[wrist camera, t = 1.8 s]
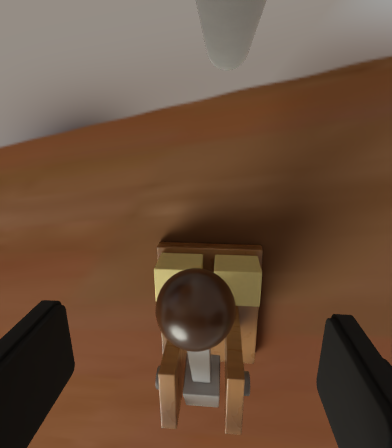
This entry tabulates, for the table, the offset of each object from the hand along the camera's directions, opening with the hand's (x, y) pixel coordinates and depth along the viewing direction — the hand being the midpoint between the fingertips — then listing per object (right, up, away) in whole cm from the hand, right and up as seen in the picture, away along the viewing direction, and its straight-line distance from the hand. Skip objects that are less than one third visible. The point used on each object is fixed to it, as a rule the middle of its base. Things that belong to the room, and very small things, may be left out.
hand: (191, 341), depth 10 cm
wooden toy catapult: (+1, -3, +17) cm, 17 cm away
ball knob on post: (0, -1, +6) cm, 6 cm away
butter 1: (-1, 0, +15) cm, 15 cm away
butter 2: (+4, 0, +14) cm, 15 cm away
